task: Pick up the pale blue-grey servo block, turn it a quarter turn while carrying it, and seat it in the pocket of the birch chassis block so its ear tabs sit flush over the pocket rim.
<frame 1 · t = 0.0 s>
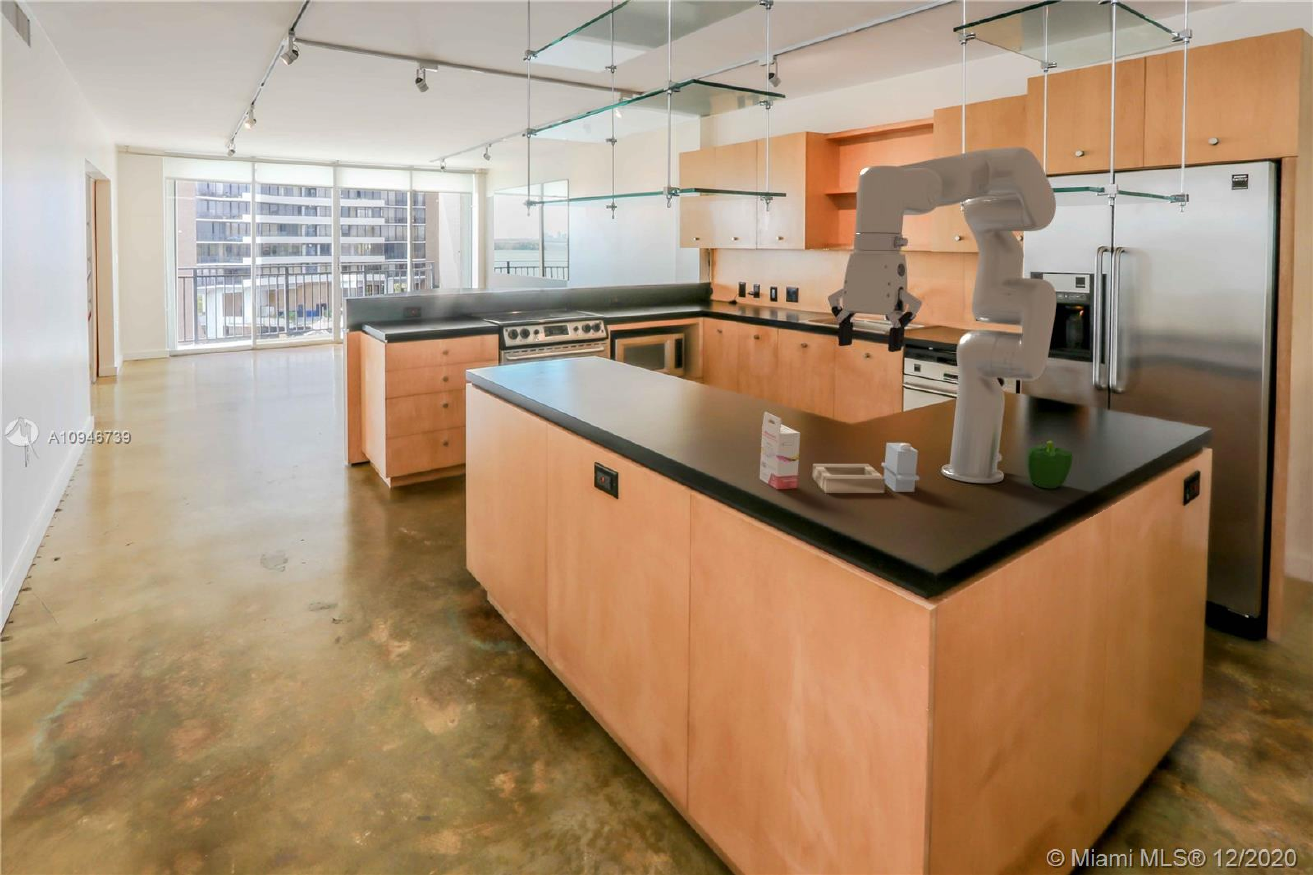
hand: (869, 348, 134), 31 cm above the countertop, fingers open, 9 cm apart
servo: (898, 486, 163), on the countertop
ink cartridge box: (778, 484, 164), on the countertop
bell pepper: (1044, 486, 165), on the countertop
chassis: (847, 484, 163), on the countertop
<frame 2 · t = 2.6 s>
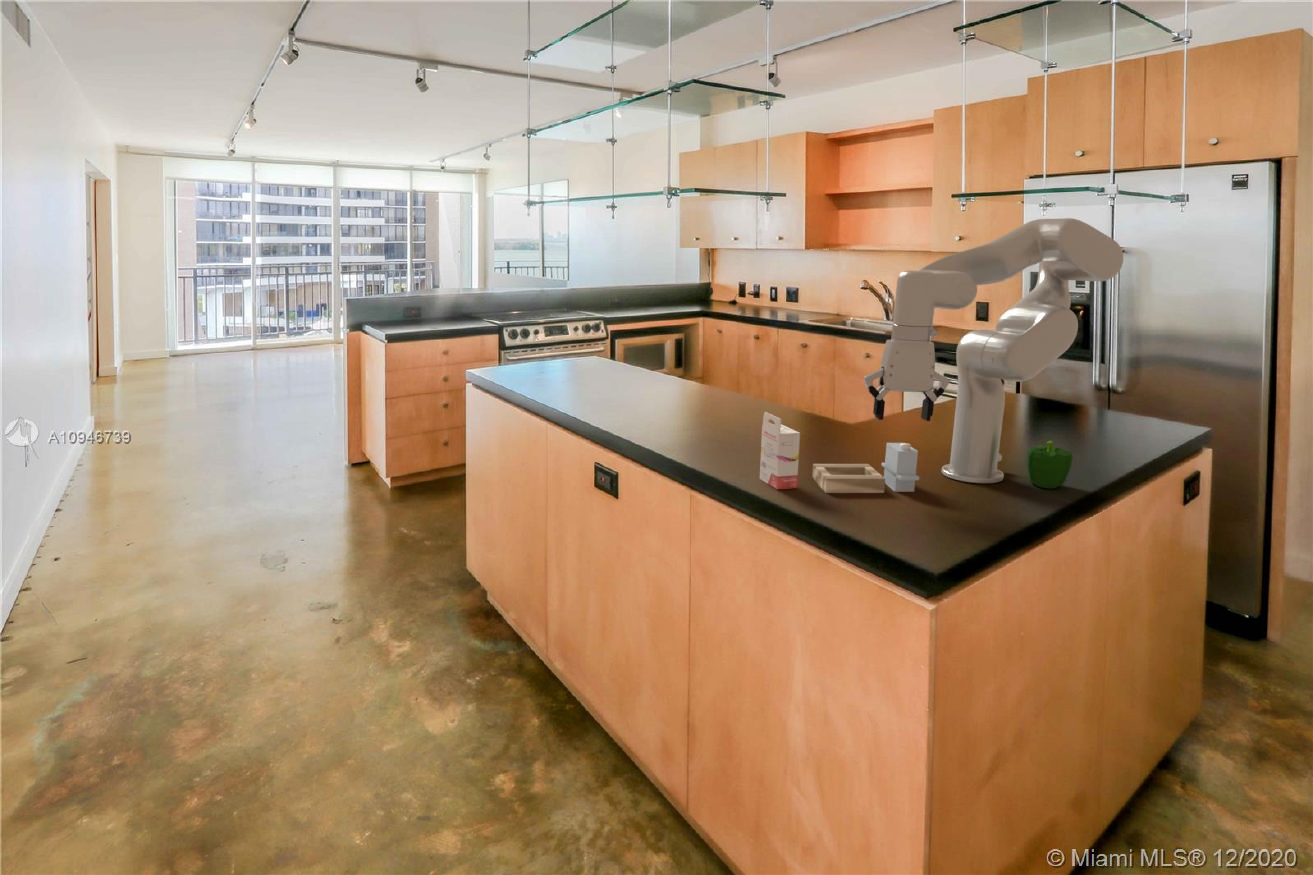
hand: (902, 419, 159), 14 cm above the countertop, fingers open, 9 cm apart
nothing on the countertop moved.
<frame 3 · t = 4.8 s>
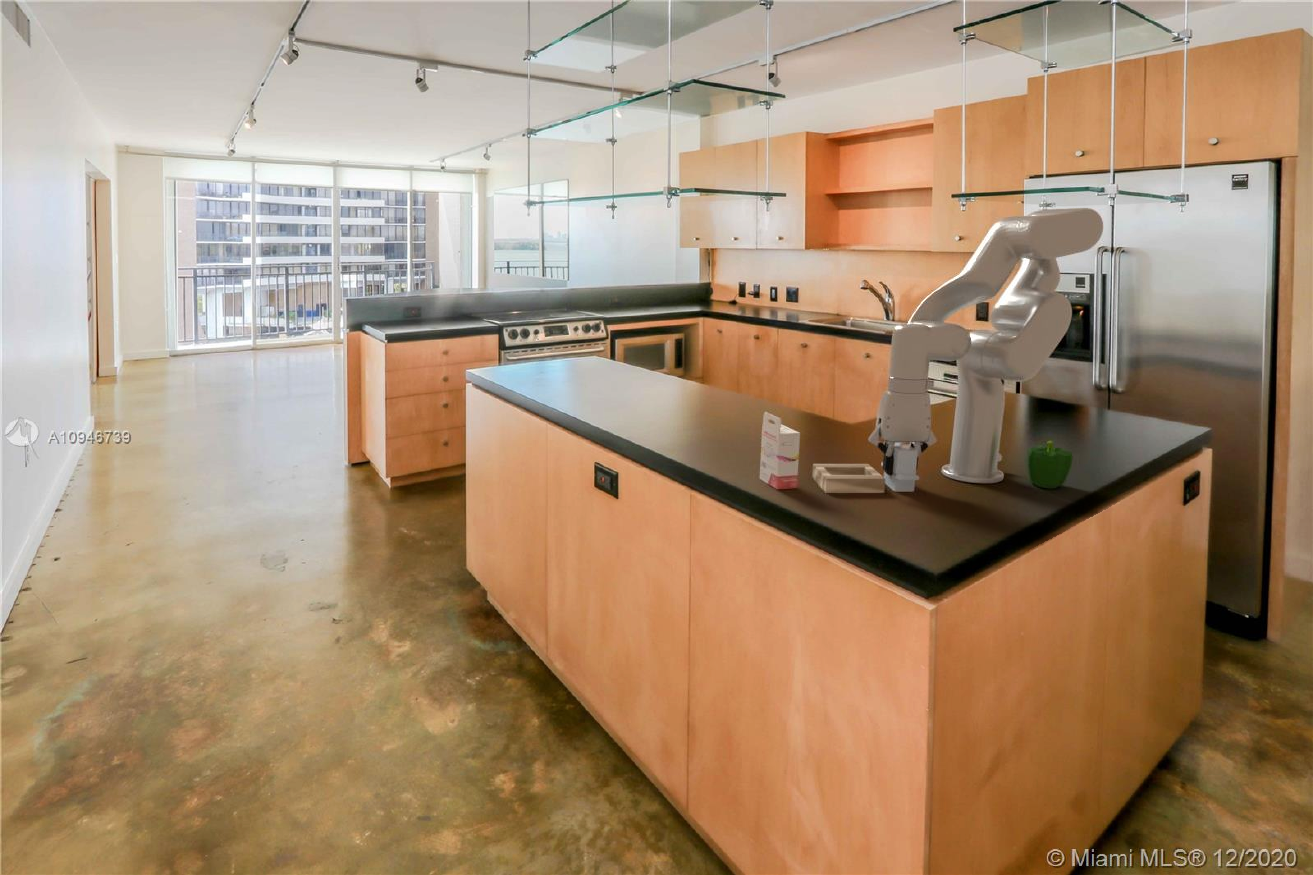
hand: (899, 472, 162), 3 cm above the countertop, fingers closed on servo, 4 cm apart
servo: (898, 486, 163), on the countertop, touching gripper
everything else where it was.
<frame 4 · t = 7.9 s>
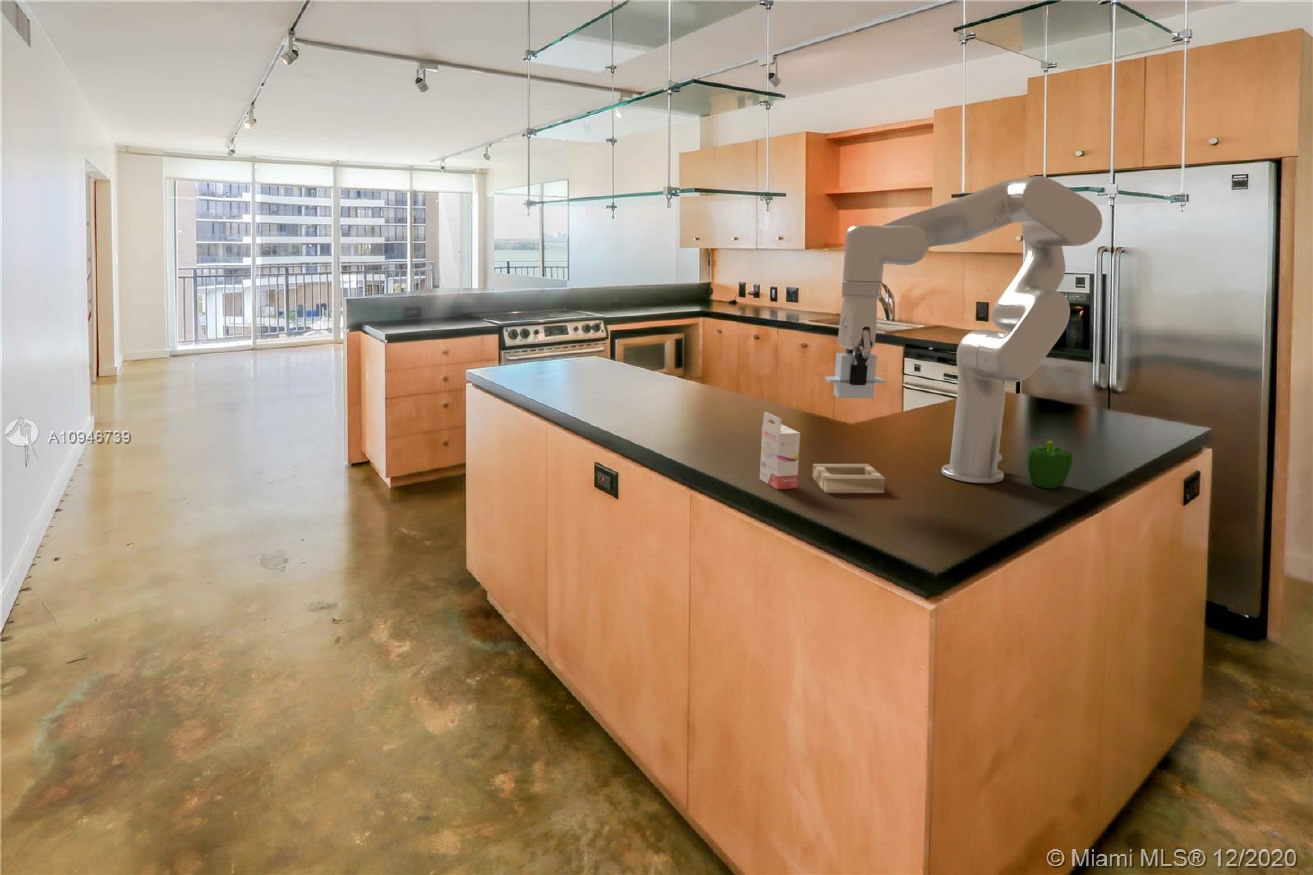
hand: (854, 381, 158), 22 cm above the countertop, fingers closed on servo, 4 cm apart
servo: (853, 396, 159), point 19 cm above the countertop, touching gripper
everything else where it was.
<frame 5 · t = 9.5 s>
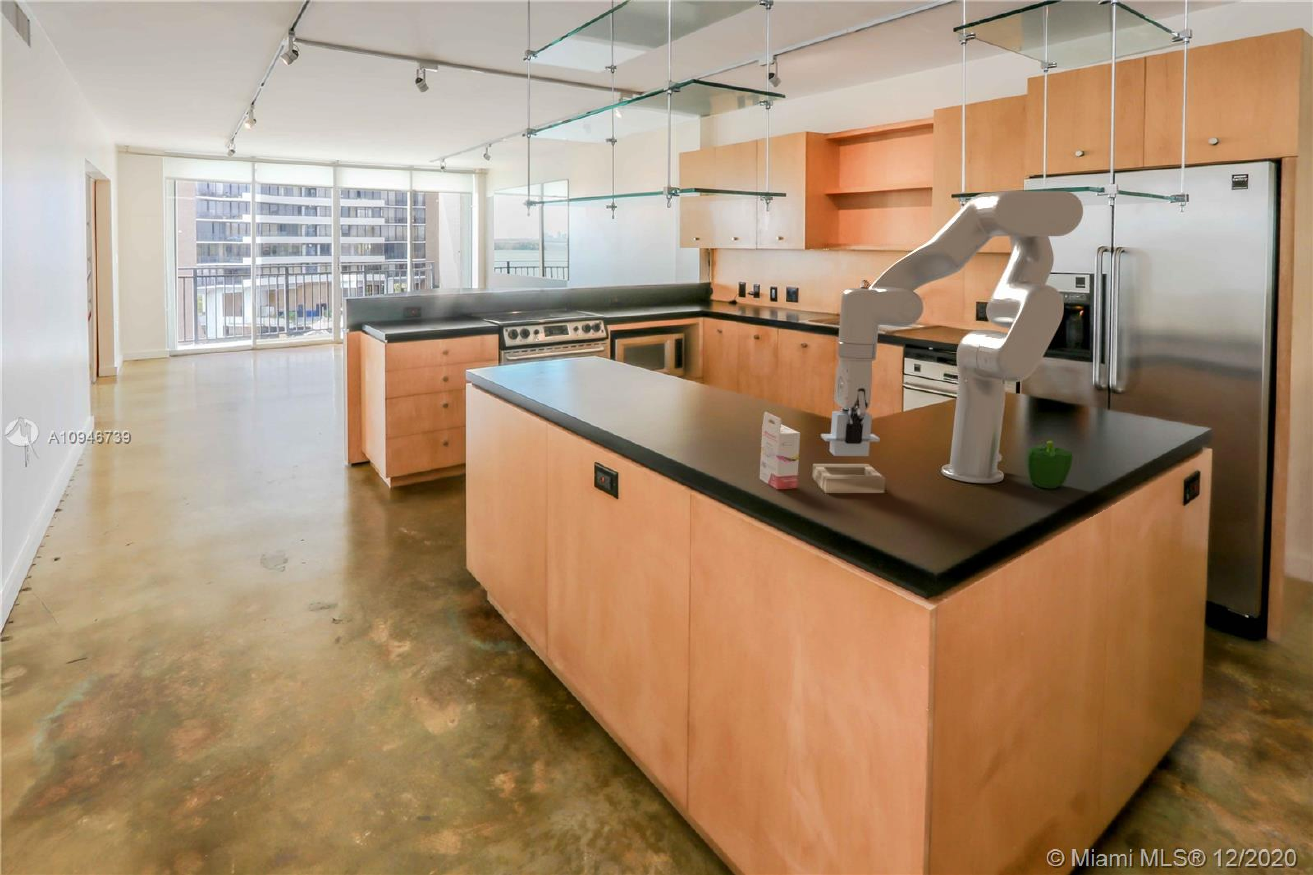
hand: (849, 439, 161), 10 cm above the countertop, fingers closed on servo, 4 cm apart
servo: (848, 453, 162), point 7 cm above the countertop, touching gripper
everything else where it was.
when the fingers open (4 cm above the countertop, at t = 11.0 s): servo stays where it is, resting on chassis.
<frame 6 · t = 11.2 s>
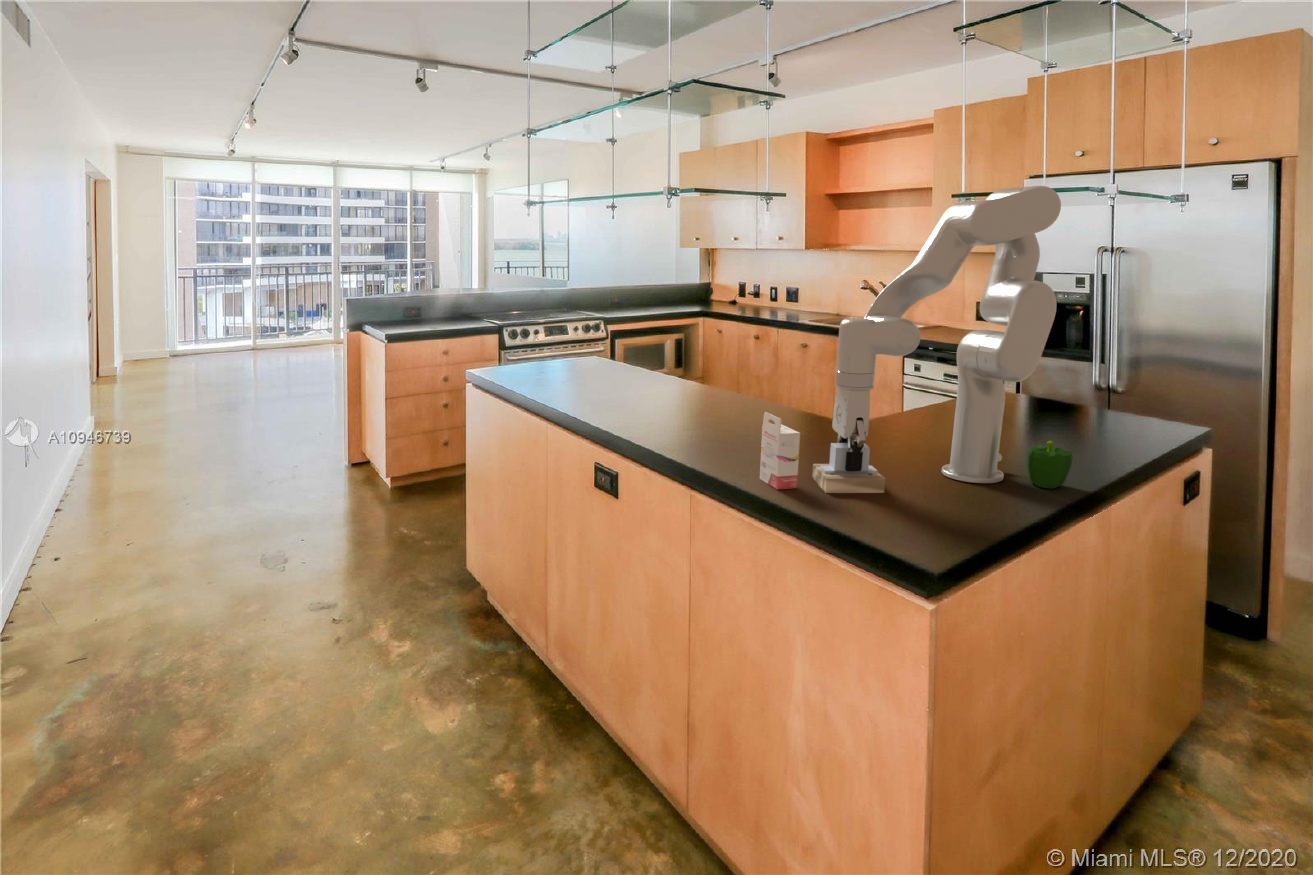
hand: (848, 465, 162), 4 cm above the countertop, fingers open, 6 cm apart
servo: (847, 485, 163), resting on chassis
everything else where it was.
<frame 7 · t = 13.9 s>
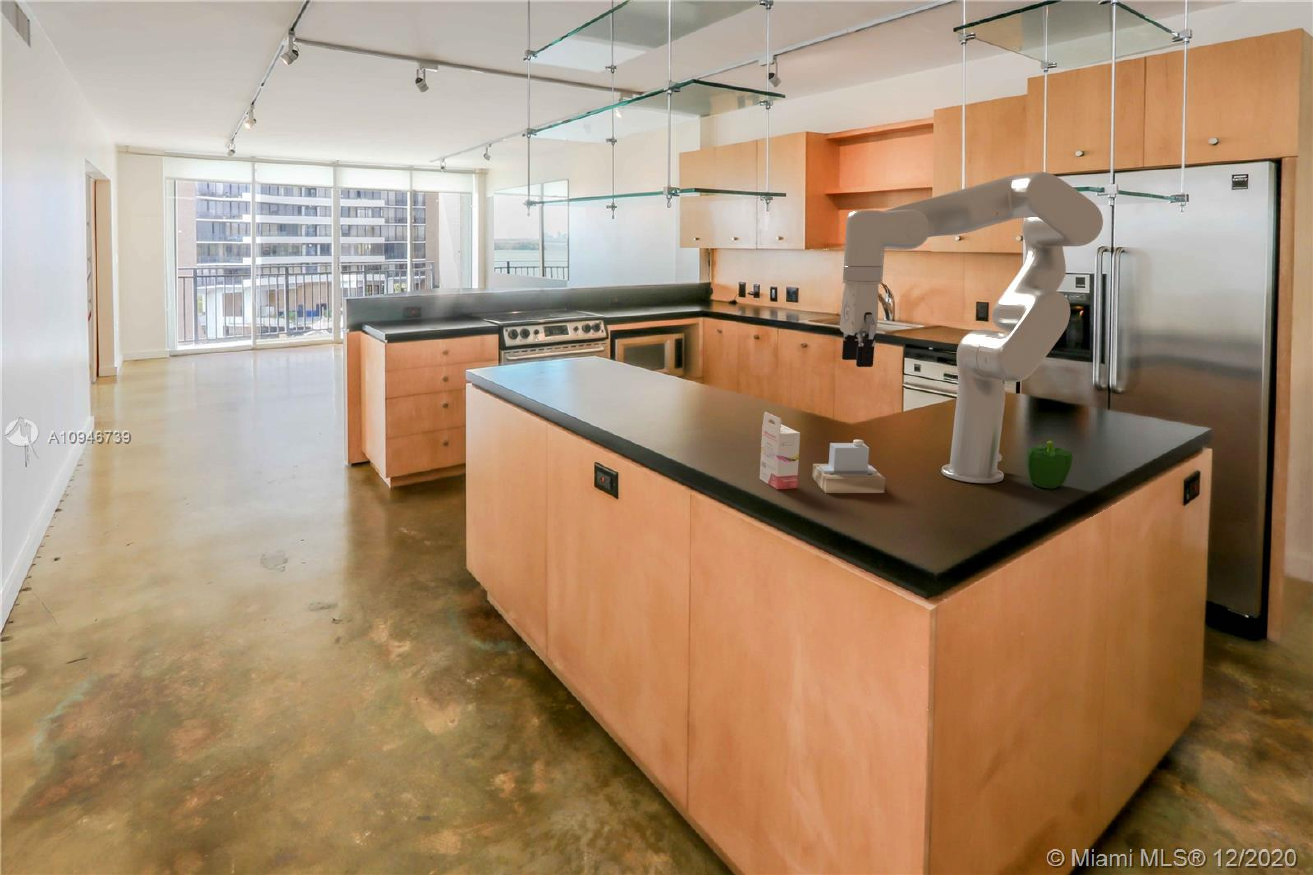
hand: (856, 363, 157), 25 cm above the countertop, fingers open, 9 cm apart
nothing on the countertop moved.
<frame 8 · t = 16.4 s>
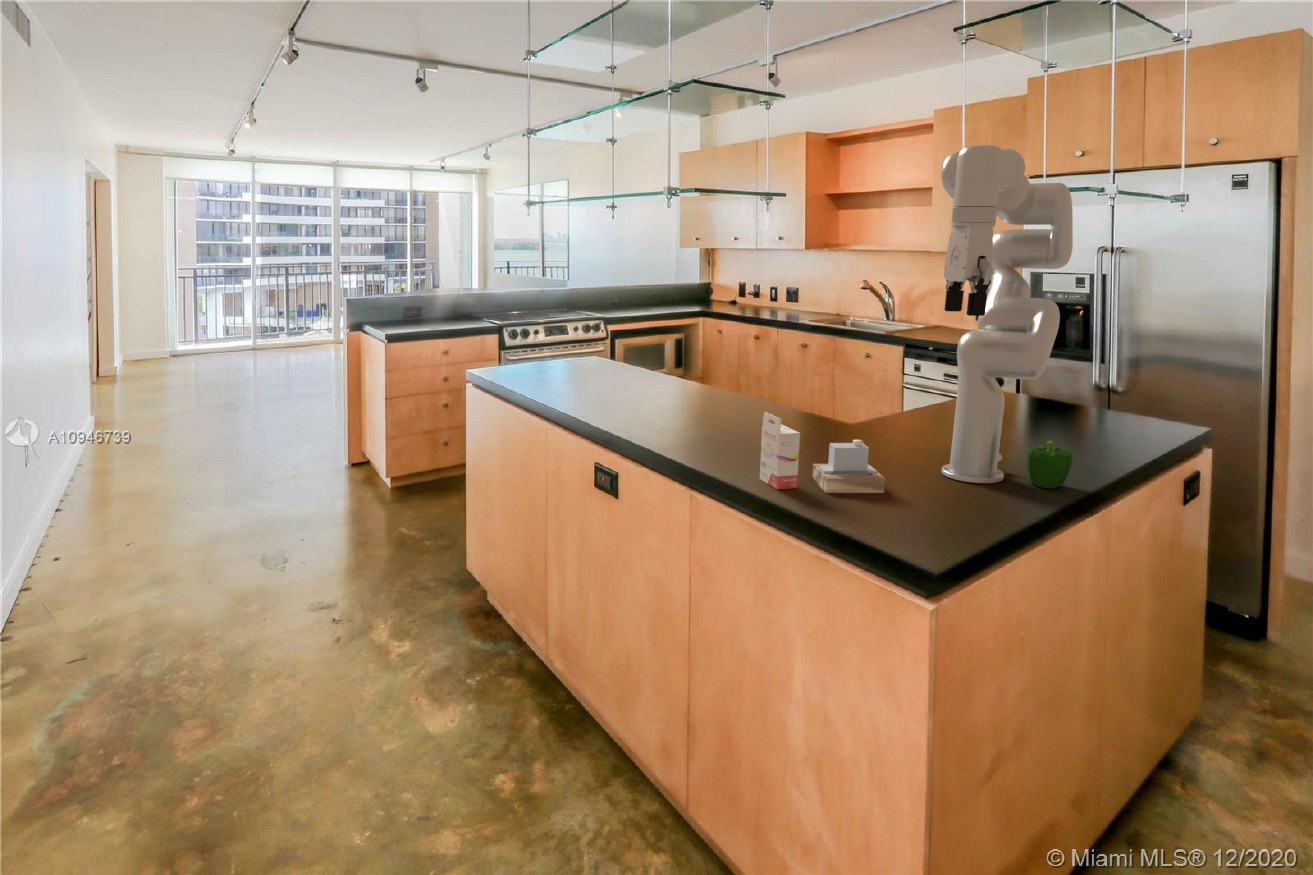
hand: (963, 313, 146), 36 cm above the countertop, fingers open, 9 cm apart
nothing on the countertop moved.
at the end: servo 0.2 cm off-centre on the chassis, point 0.0 cm above the chassis's base; servo tilted 0°; the gripper is holding nothing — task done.
